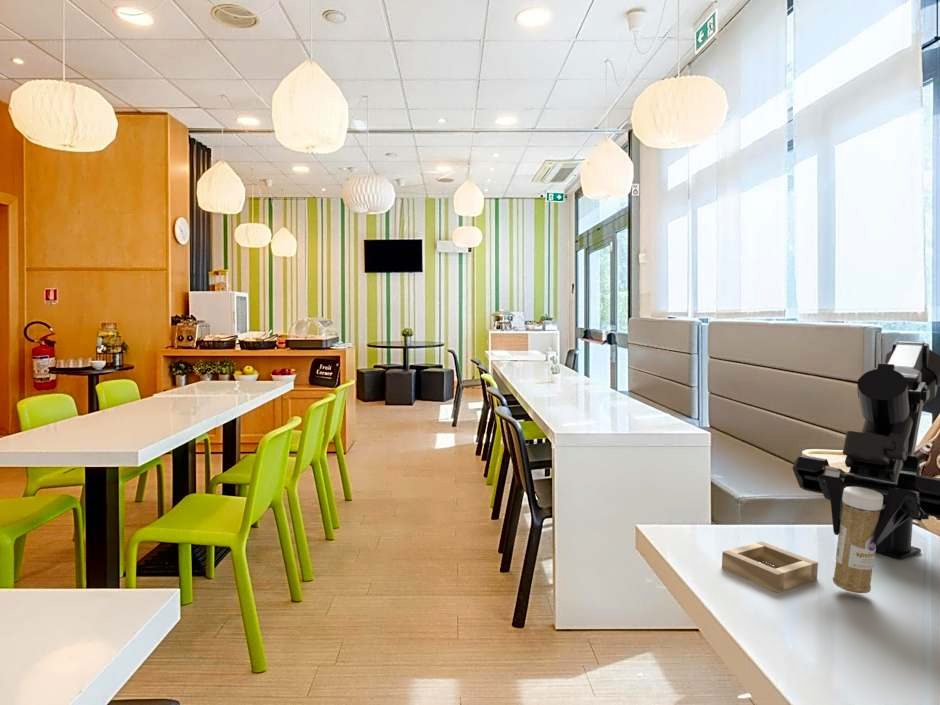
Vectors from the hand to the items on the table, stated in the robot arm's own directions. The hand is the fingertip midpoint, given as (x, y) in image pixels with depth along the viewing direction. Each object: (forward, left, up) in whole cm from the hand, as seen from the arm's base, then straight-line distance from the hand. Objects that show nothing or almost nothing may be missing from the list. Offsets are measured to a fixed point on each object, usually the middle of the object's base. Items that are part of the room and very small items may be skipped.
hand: (855, 538), depth 84 cm
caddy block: (+3, -10, -8) cm, 14 cm away
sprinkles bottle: (-1, -1, -7) cm, 8 cm away
